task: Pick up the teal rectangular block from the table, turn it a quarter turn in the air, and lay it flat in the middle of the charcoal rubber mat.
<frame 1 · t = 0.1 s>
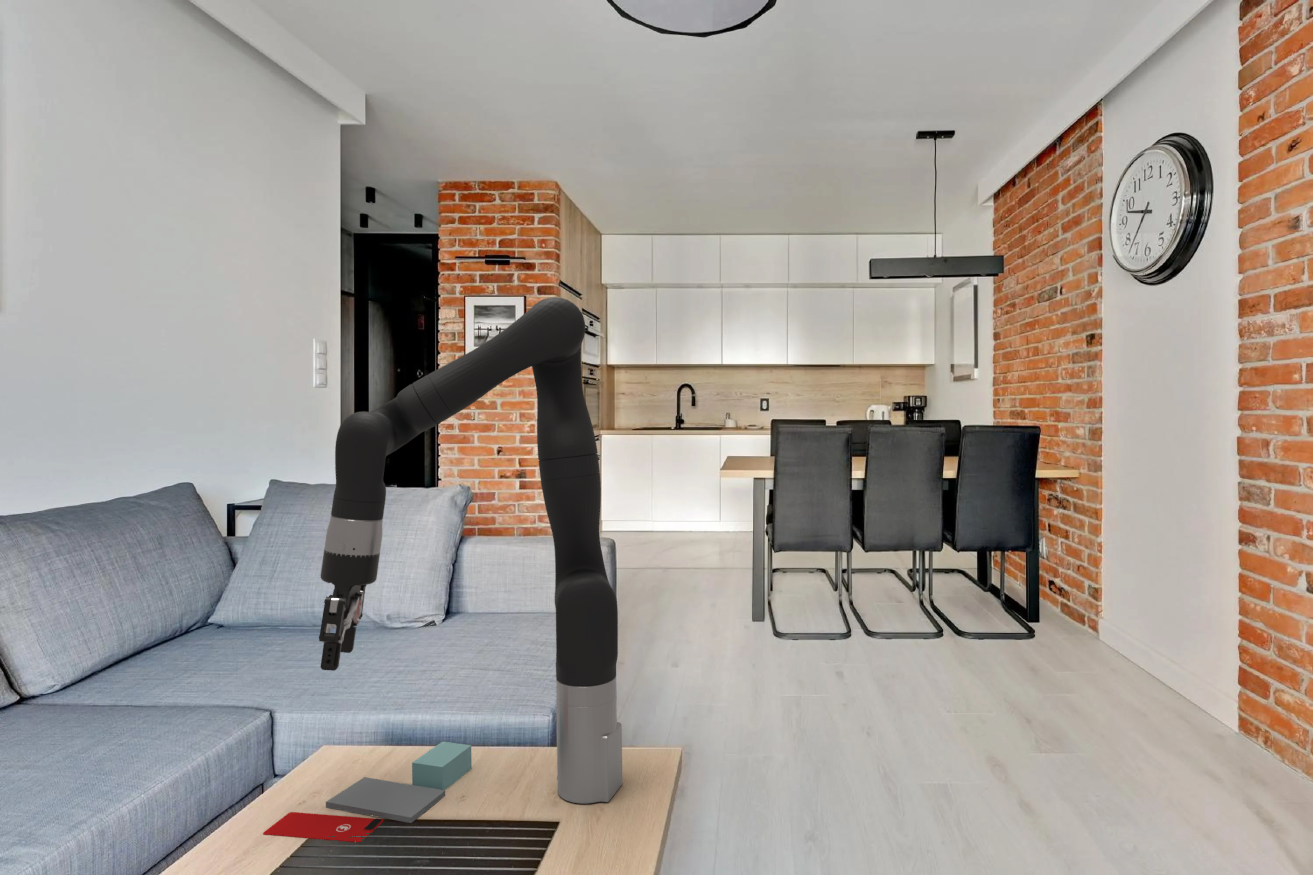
hand: (337, 660, 101), 22 cm above the table, tool pointing down, fingers open, 8 cm apart
electronic device: (324, 831, 98), on the table
teal rectangular block: (442, 778, 112), on the table
mat: (386, 801, 104), on the table
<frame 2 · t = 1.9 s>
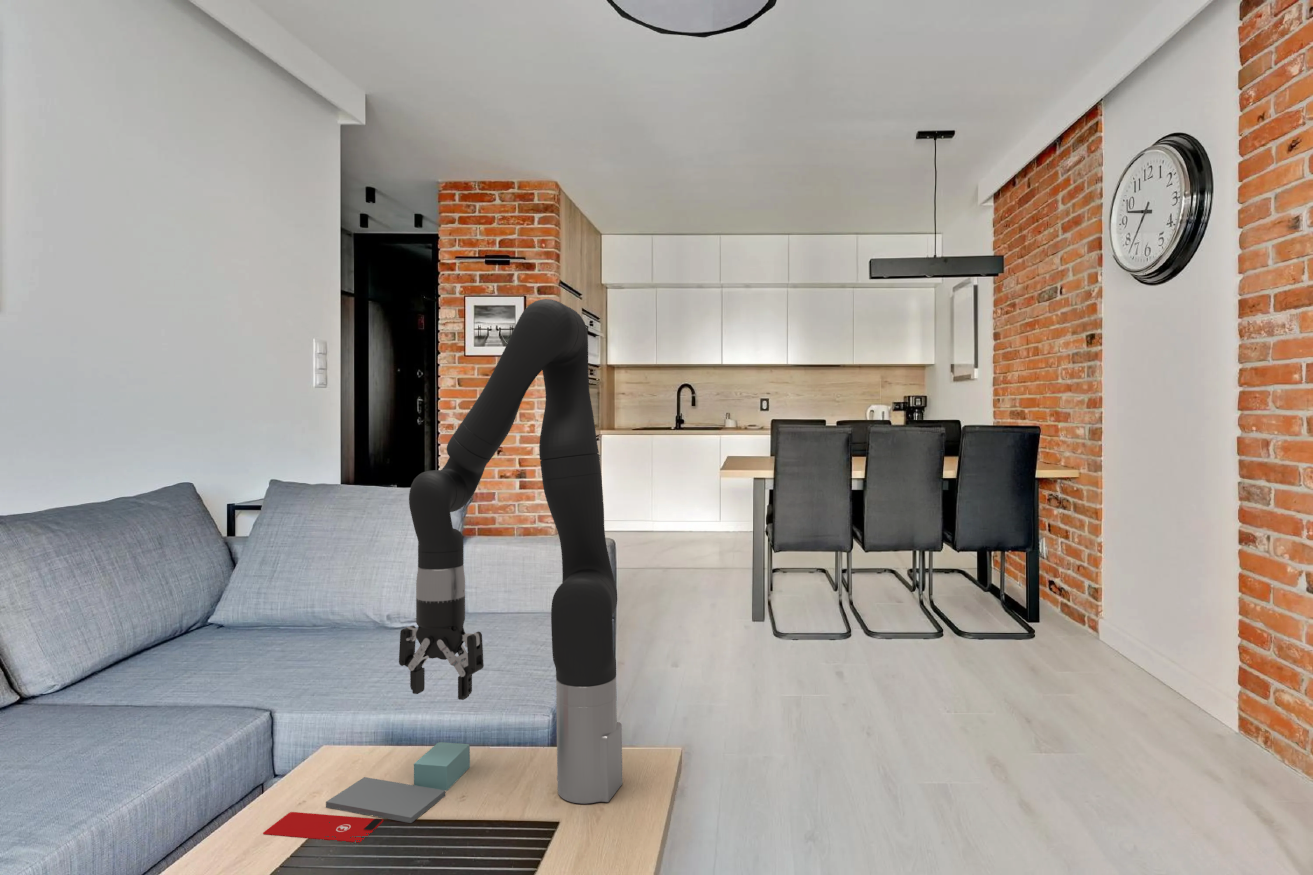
hand: (440, 695, 112), 13 cm above the table, tool pointing down, fingers open, 8 cm apart
nothing on the table moved.
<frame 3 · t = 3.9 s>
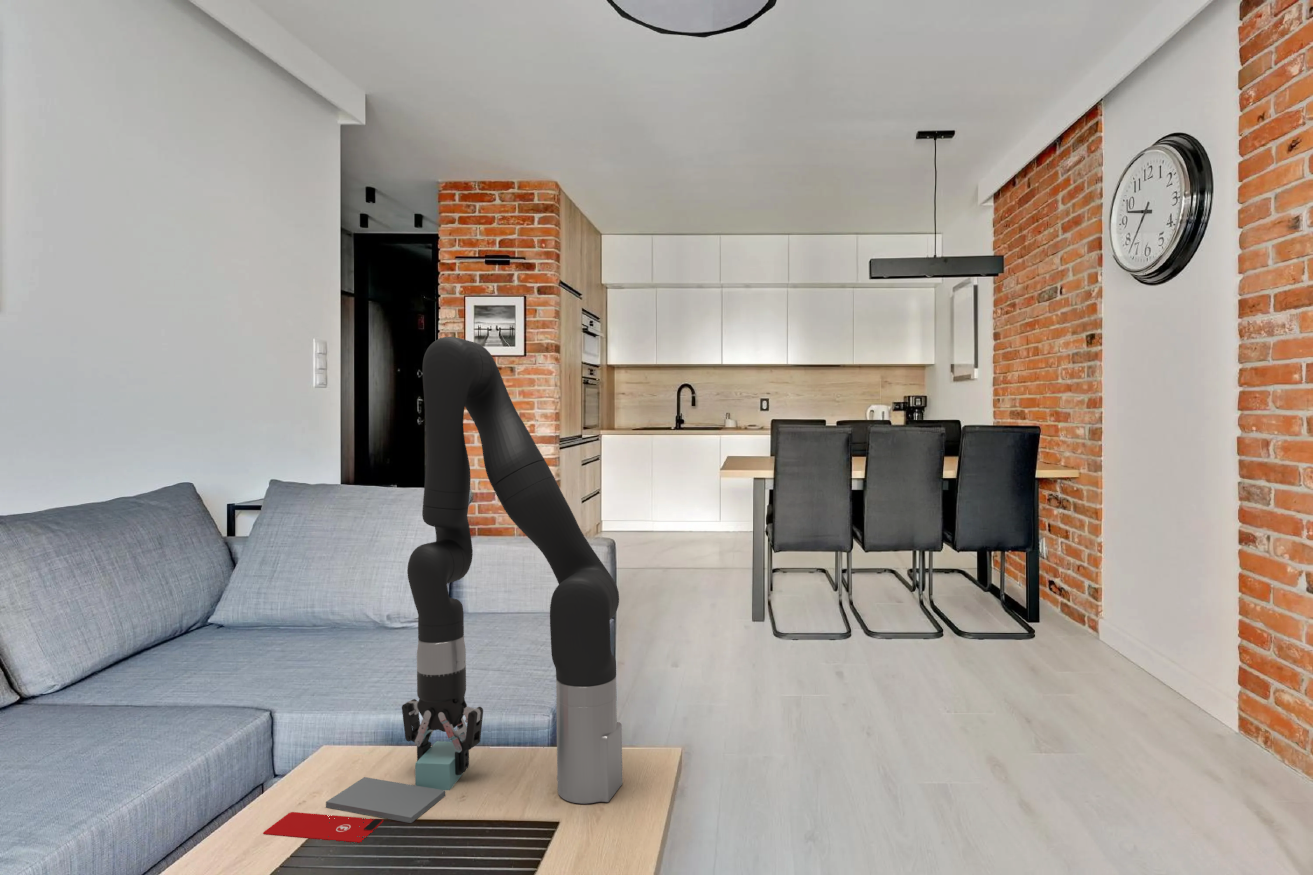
hand: (442, 769, 112), 1 cm above the table, tool pointing down, fingers closed on teal rectangular block, 6 cm apart
teal rectangular block: (443, 777, 112), on the table, touching gripper
everything else where it was.
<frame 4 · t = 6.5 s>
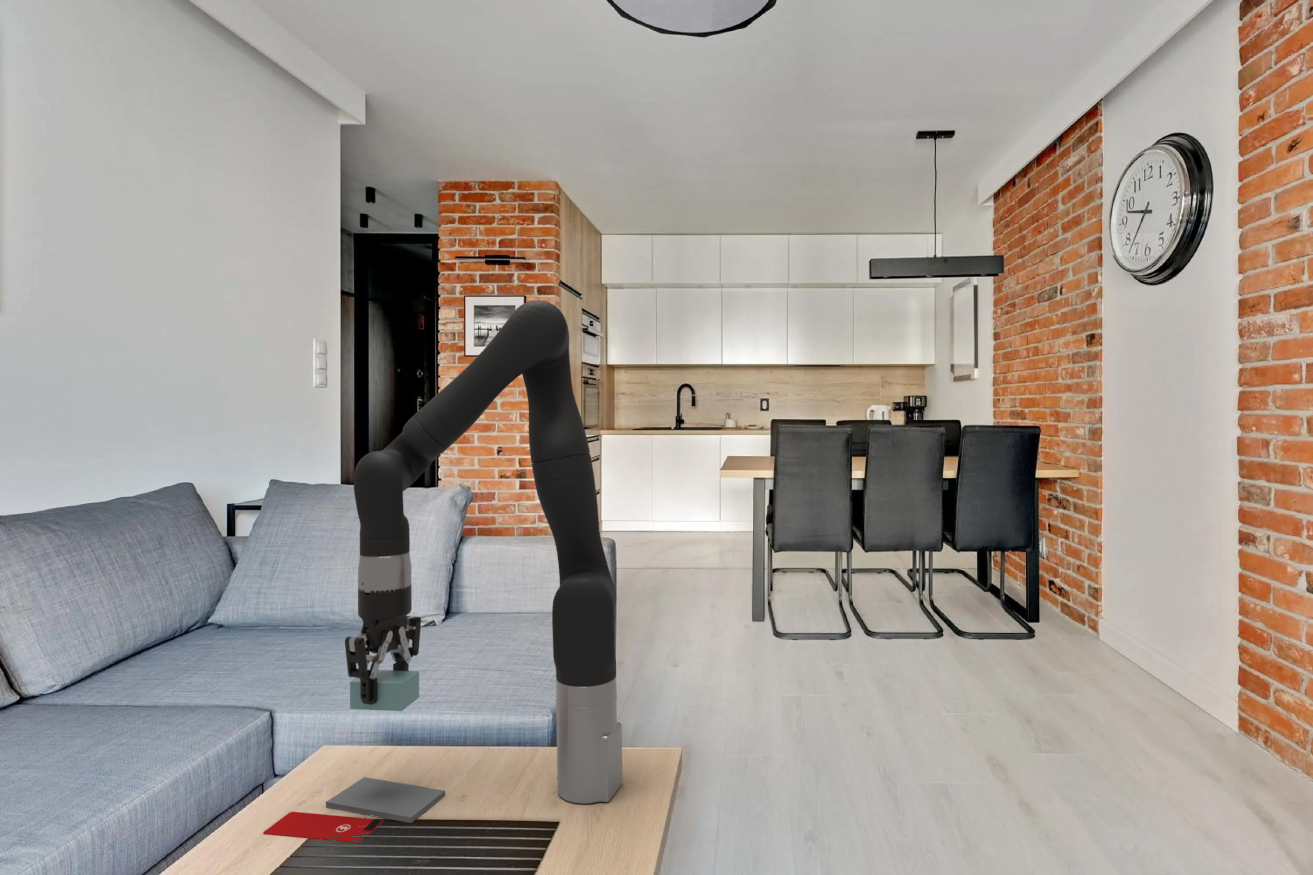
hand: (385, 694, 105), 16 cm above the table, tool pointing down, fingers closed on teal rectangular block, 6 cm apart
teal rectangular block: (385, 702, 105), point 15 cm above the table, touching gripper
everything else where it was.
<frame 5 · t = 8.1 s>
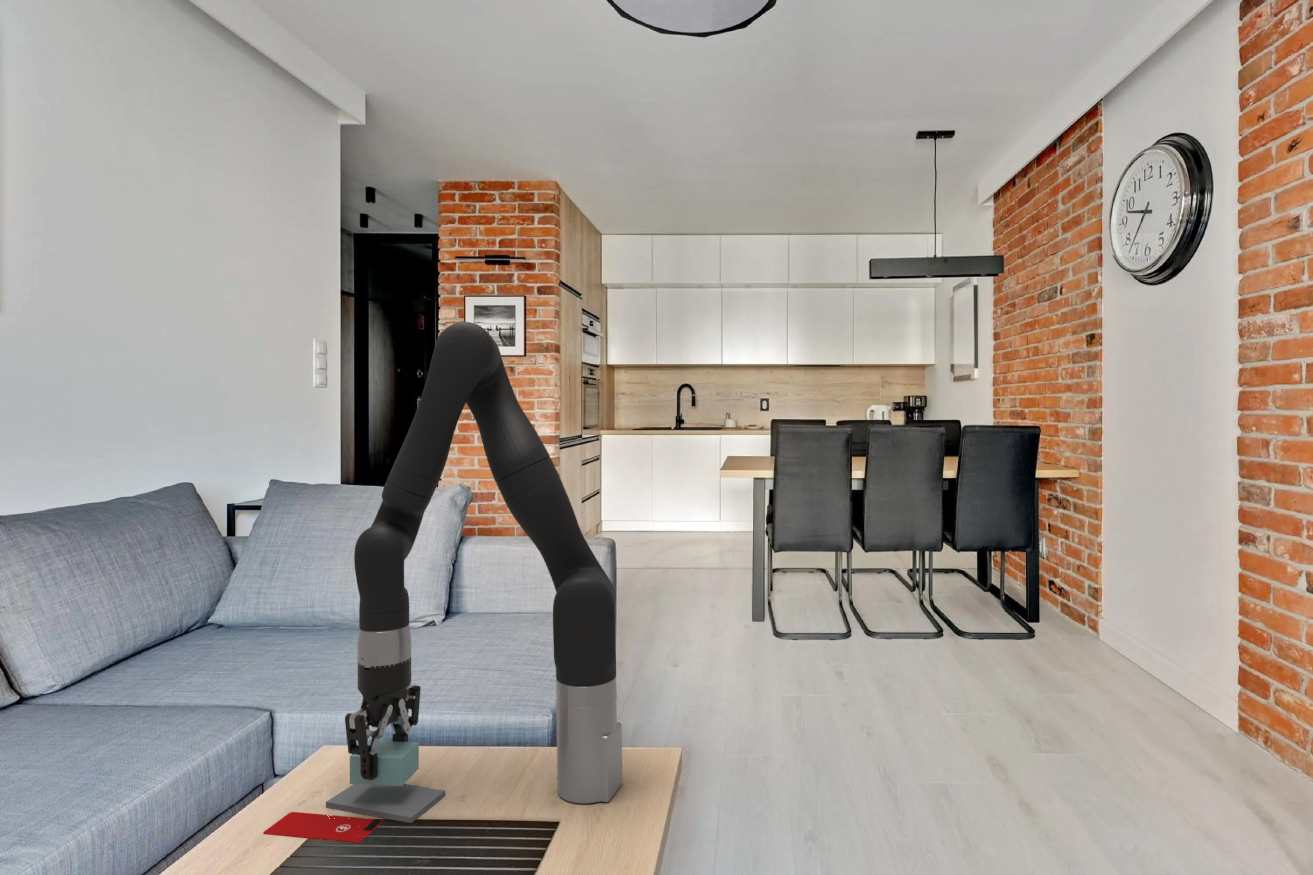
hand: (385, 767, 105), 5 cm above the table, tool pointing down, fingers closed on teal rectangular block, 6 cm apart
teal rectangular block: (385, 775, 105), point 4 cm above the table, touching gripper
everything else where it was.
when the fingers open (3 cm above the table, at t = 9.3 s): teal rectangular block drops 1 cm, resting on mat.
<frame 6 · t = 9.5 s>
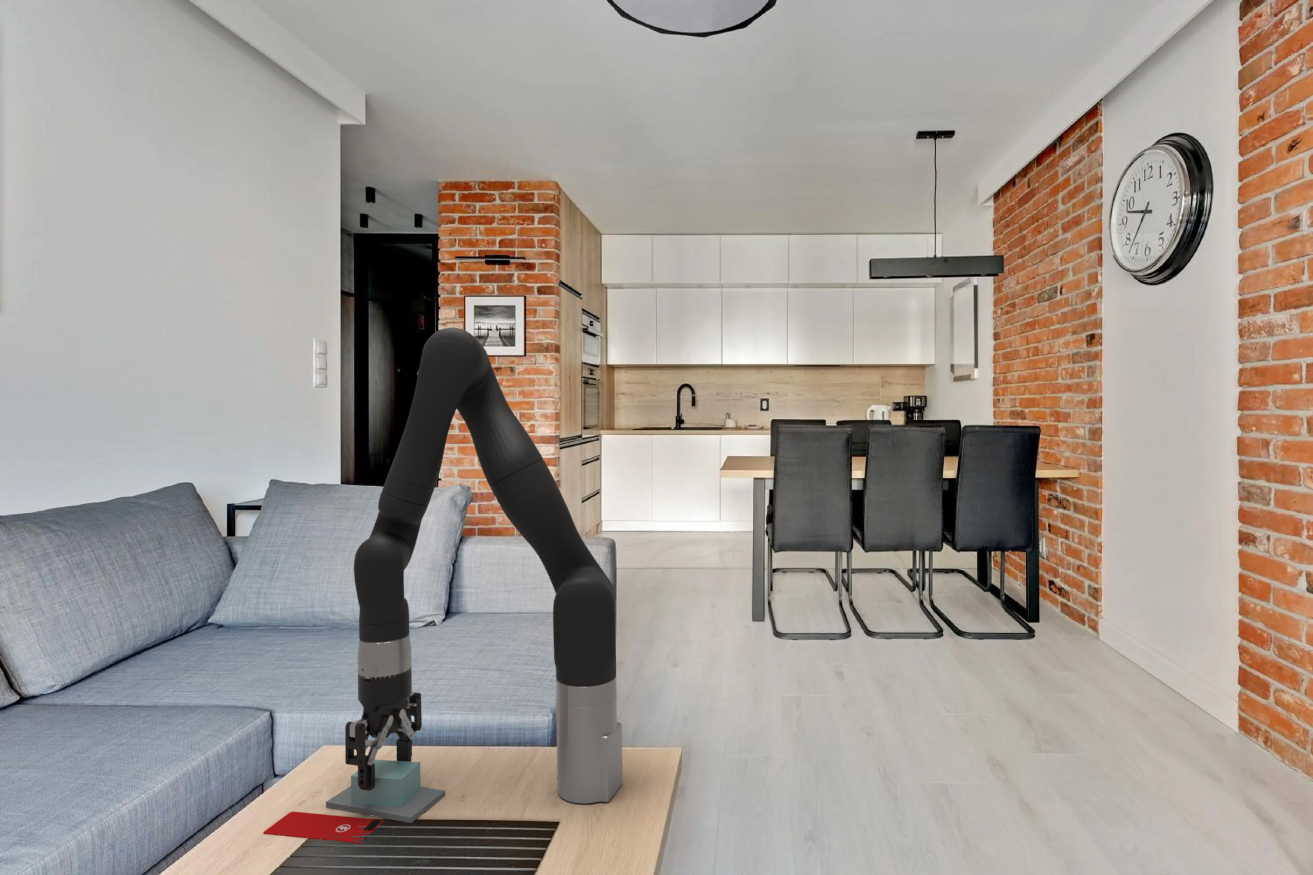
hand: (386, 775, 104), 4 cm above the table, tool pointing down, fingers open, 7 cm apart
teal rectangular block: (386, 795, 104), point 1 cm above the table, touching mat
everything else where it was.
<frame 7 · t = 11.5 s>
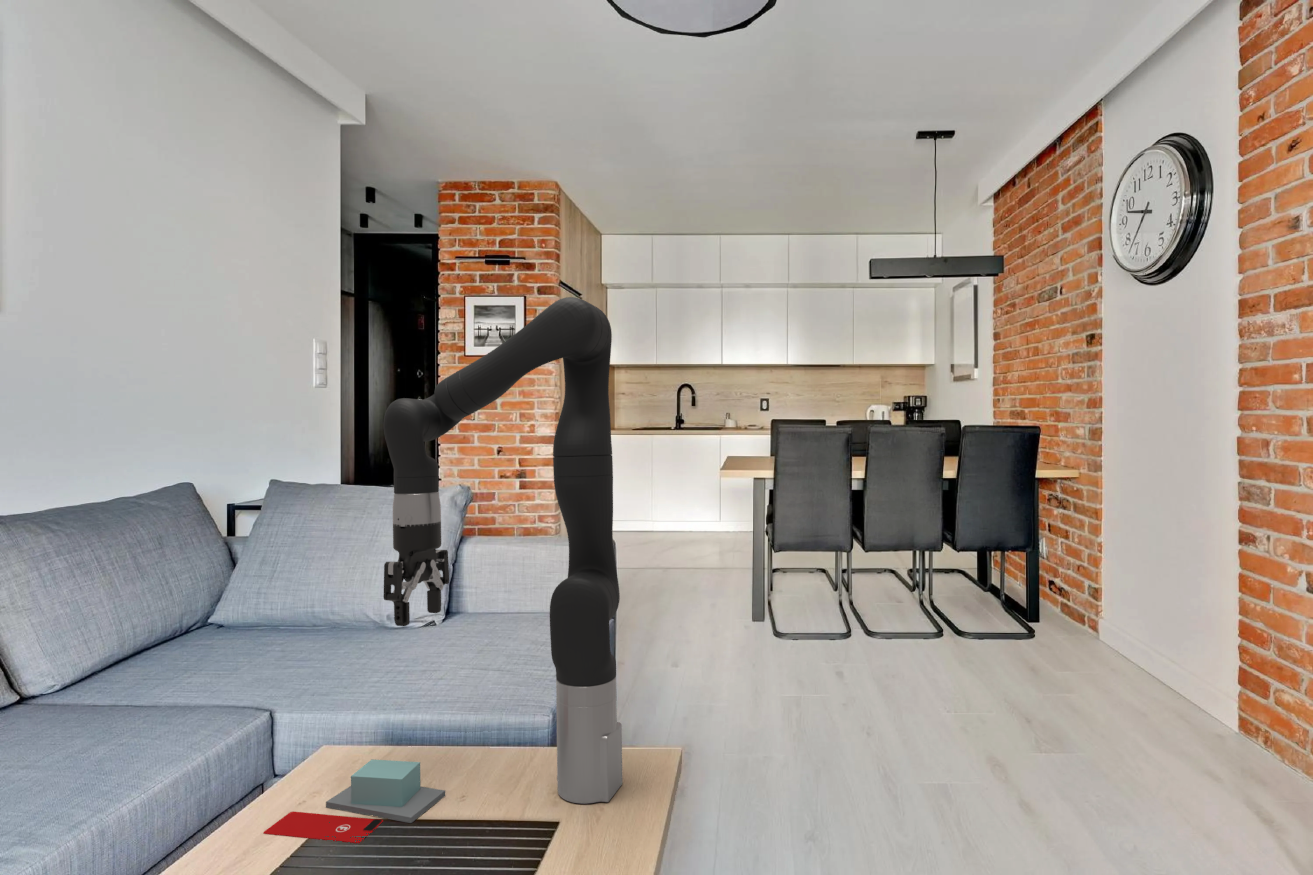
hand: (418, 618, 115), 25 cm above the table, tool pointing down, fingers open, 8 cm apart
nothing on the table moved.
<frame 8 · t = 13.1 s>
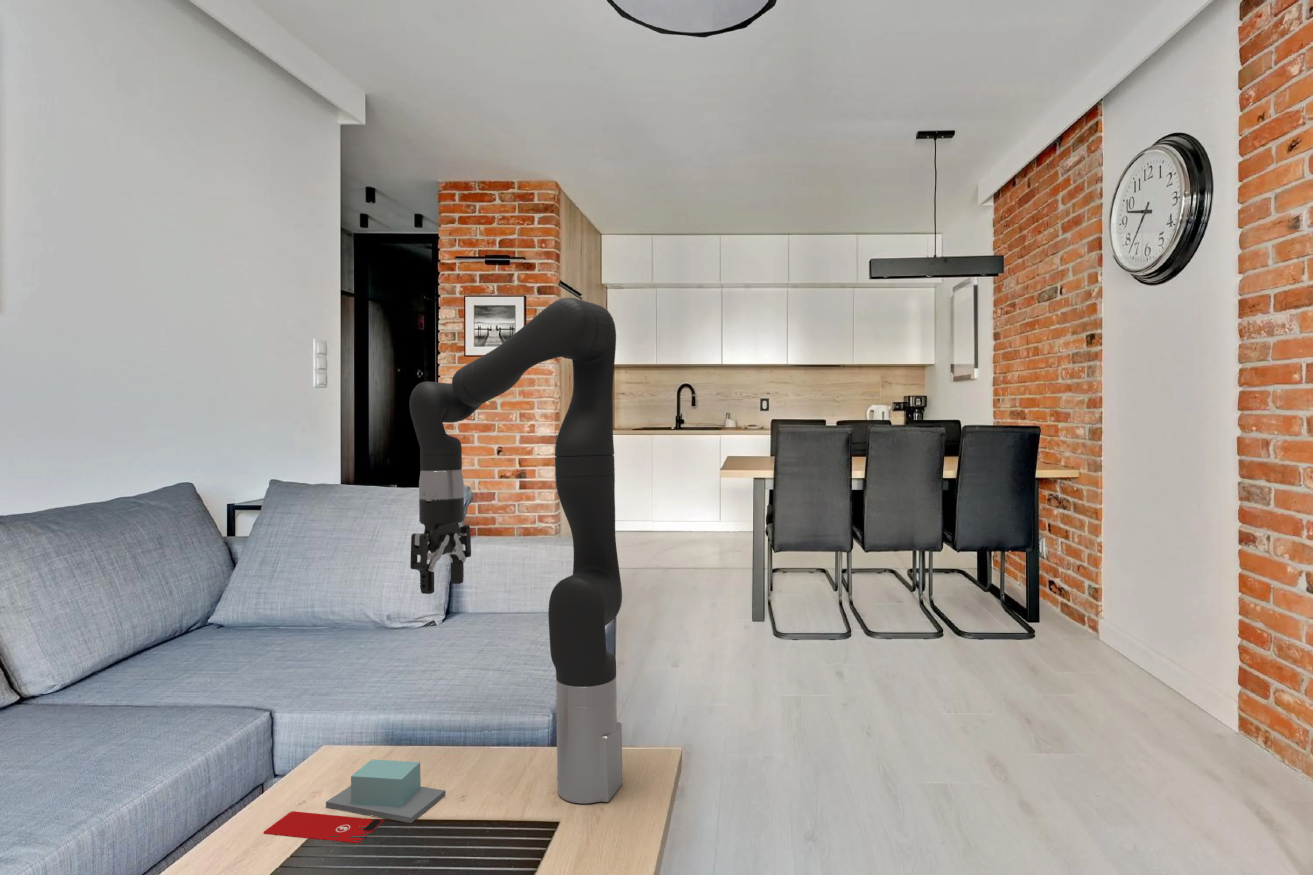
hand: (442, 588, 123), 28 cm above the table, tool pointing down, fingers open, 8 cm apart
nothing on the table moved.
at the end: teal rectangular block inside the target area on the mat (0.1 cm from its centre), point 0.8 cm above the mat's base; teal rectangular block tilted 0°; the gripper is holding nothing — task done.
